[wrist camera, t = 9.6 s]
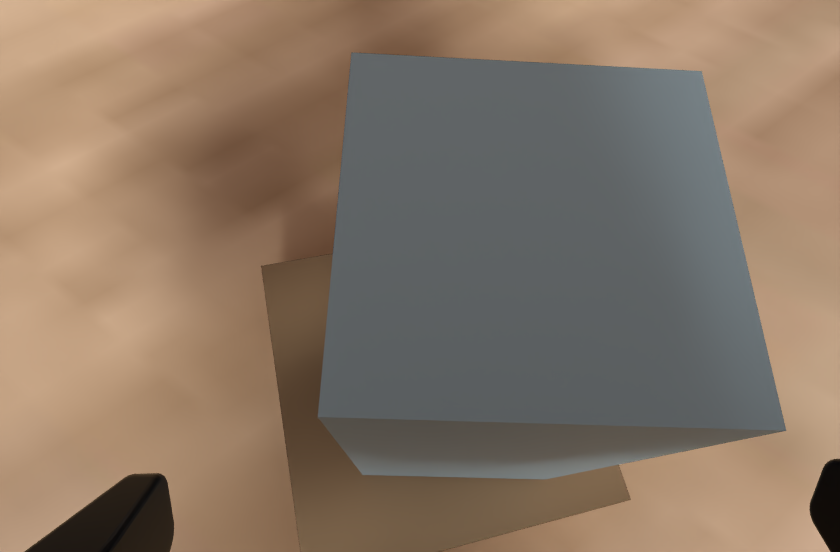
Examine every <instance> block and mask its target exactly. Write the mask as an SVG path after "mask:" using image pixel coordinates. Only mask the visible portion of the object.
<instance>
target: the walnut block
mask: <svg viewBox="0 0 840 552" xmlns="http://www.w3.org/2000/svg"><path fill="white" fill-rule="evenodd" d="M332 258H333V254H328V255H322V256H316V257H310V258H304V259H299V260H293V261H287V262H281V263H276V264H270V265H264V266H261V268H262V275H263V283H264V290H265V297H266V305H267V312H268V319H269V326H270V334H271V341H272V348H273V355H274V363H275V370H276V377H277V385H278V392H279V399H280V406H281V414H282V421H283V428H284V435H285V443H286V450H287V457H288V465H289V472H290V479H291V486H292V494H293V501H294V508H295V515H296V523H297V530H298V537H299V545H300V552H440V551H443V550H447V549H451V548H455V547H458V546H462V545H466V544H469V543H473V542H477V541H480V540H484V539H488V538H491V537H495V536H499V535H502V534H506V533H510V532H513V531H517V530H521V529H525V528H528V527H532V526H536V525H539V524H543V523H547V522H550V521H554V520H558V519H561V518H565V517H569V516H572V515H576V514H580V513H584V512H587V511H591V510H595V509H598V508H602V507H606V506H609V505H613V504H617V503H620V502H624V501H628V500H631V499H630V496H629V493H628V490H627V487H626V484H625V481H624V479H623V476H622V473H621V470H620V467H619V465H614V466H609V467H604V468H599V469H594V470H590V471H585V472H580V473H575V474H570V475H565V476H560V477H555V478H550V479H505V478H465V477H426V476H386V475H362V473H361V472H360V471H359V470H358V468H357V467H356V466H355V464H354V463H353V462H352V460H351V459H350V458H349V457H348V455H347V454H346V453H345V451H344V450H343V449H342V448H341V446H340V445H339V444H338V442H337V441H336V440H335V439H334V437H333V436H332V435H331V433H330V432H329V431H328V430H327V428H326V427H325V426H324V424H323V423H322V422H321V421H320V419H319V418H318V409H319V398H320V387H321V377H322V366H323V355H324V344H325V333H326V323H327V312H328V301H329V290H330V279H331V269H332Z"/></svg>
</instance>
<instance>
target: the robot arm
mask: <svg viewBox="0 0 840 552" xmlns="http://www.w3.org/2000/svg"><path fill="white" fill-rule="evenodd" d="M810 515H811V518H812V521H813V523H814V525H815V527H816V528H817V530H818V532H819V533H820V535H821V537H822V538H823V540H824V542H825V543H826V545H827V547H828V548H829V550H830V552H840V459H833V460H830V461H829V462H827V463H826V464H825V466H824V468H823V470H822V473H821V475H820V478H819V480H818V483H817V486H816V488H815V491H814V494H813V496H812V499H811V502H810ZM173 535H174V520H173V514H172V508H171V501H170V495H169V489H168V483H167V480H166V478H165V476H163V475H162V474H159V473H151V474H132V475H129V476H127V477H125V478H124V479H122V480H121V481H119V482H118V483H117V484H115V485H114V486H113V487H111V488H110V489H109V490H107V491H106V492H105V493H103V494H102V495H100V496H99V497H98V498H96V499H95V500H94V501H92V502H91V503H90V504H88V505H87V506H86V507H84V508H83V509H82V510H80V511H79V512H77V513H76V514H75V515H73V516H72V517H71V518H69V519H68V520H67V521H65V522H64V523H63V524H61V525H60V526H59V527H57V528H56V529H54V530H53V531H52V532H50V533H49V534H48V535H46V536H45V537H44V538H42V539H41V540H40V541H38V542H37V543H36V544H34V545H33V546H31V547H30V548H29V549H27V550H26V551H25V552H170V549H171V545H172V541H173Z"/></svg>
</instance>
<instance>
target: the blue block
mask: <svg viewBox="0 0 840 552" xmlns="http://www.w3.org/2000/svg"><path fill="white" fill-rule="evenodd" d="M318 418H319V419H320V421H321V422H322V423H323V424H324V426H325V427H326V428H327V430H328V431H329V432H330V433H331V435H332V436H333V437H334V439H335V440H336V441H337V442H338V444H339V445H340V446H341V448H342V449H343V450H344V451H345V453H346V454H347V455H348V457H349V458H350V459H351V460H352V462H353V463H354V464H355V466H356V467H357V468H358V470H359V471H360V472H361V473H362V475H386V476H426V477H465V478H505V479H550V478H555V477H560V476H565V475H570V474H575V473H580V472H585V471H590V470H594V469H599V468H604V467H609V466H614V465H619V464H624V463H629V462H634V461H639V460H644V459H649V458H654V457H659V456H664V455H668V454H673V453H678V452H683V451H688V450H693V449H698V448H703V447H708V446H713V445H718V444H723V443H728V442H733V441H737V440H742V439H747V438H752V437H757V436H762V435H767V434H772V433H777V432H782V431H786V428H785V424H784V419H783V415H782V411H781V407H780V402H779V398H778V394H777V390H776V385H775V381H774V377H773V373H772V368H771V364H770V360H769V356H768V351H767V347H766V343H765V339H764V334H763V330H762V326H761V322H760V317H759V313H758V309H757V305H756V300H755V296H754V292H753V288H752V283H751V279H750V275H749V271H748V266H747V262H746V258H745V254H744V249H743V245H742V241H741V237H740V232H739V228H738V224H737V220H736V215H735V211H734V207H733V203H732V198H731V194H730V190H729V186H728V181H727V177H726V173H725V169H724V164H723V160H722V156H721V152H720V147H719V143H718V139H717V135H716V130H715V126H714V122H713V118H712V114H711V109H710V105H709V101H708V97H707V92H706V88H705V84H704V80H703V75H702V71H687V70H668V69H649V68H631V67H612V66H594V65H575V64H556V63H538V62H519V61H500V60H482V59H463V58H444V57H426V56H407V55H388V54H370V53H351V64H350V75H349V85H348V96H347V107H346V118H345V128H344V139H343V150H342V161H341V172H340V182H339V193H338V204H337V215H336V226H335V236H334V247H333V258H332V269H331V279H330V290H329V301H328V312H327V323H326V333H325V344H324V355H323V366H322V377H321V387H320V398H319V409H318Z"/></svg>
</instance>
